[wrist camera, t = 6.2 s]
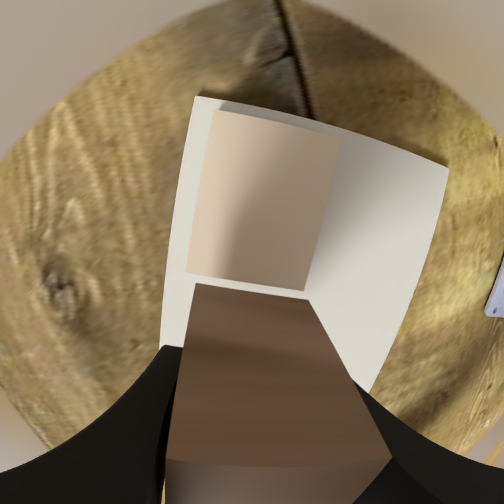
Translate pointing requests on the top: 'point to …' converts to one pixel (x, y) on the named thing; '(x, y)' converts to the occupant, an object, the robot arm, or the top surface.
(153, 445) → the robot arm
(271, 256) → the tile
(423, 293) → the top surface
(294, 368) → the walnut block
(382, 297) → the mat
